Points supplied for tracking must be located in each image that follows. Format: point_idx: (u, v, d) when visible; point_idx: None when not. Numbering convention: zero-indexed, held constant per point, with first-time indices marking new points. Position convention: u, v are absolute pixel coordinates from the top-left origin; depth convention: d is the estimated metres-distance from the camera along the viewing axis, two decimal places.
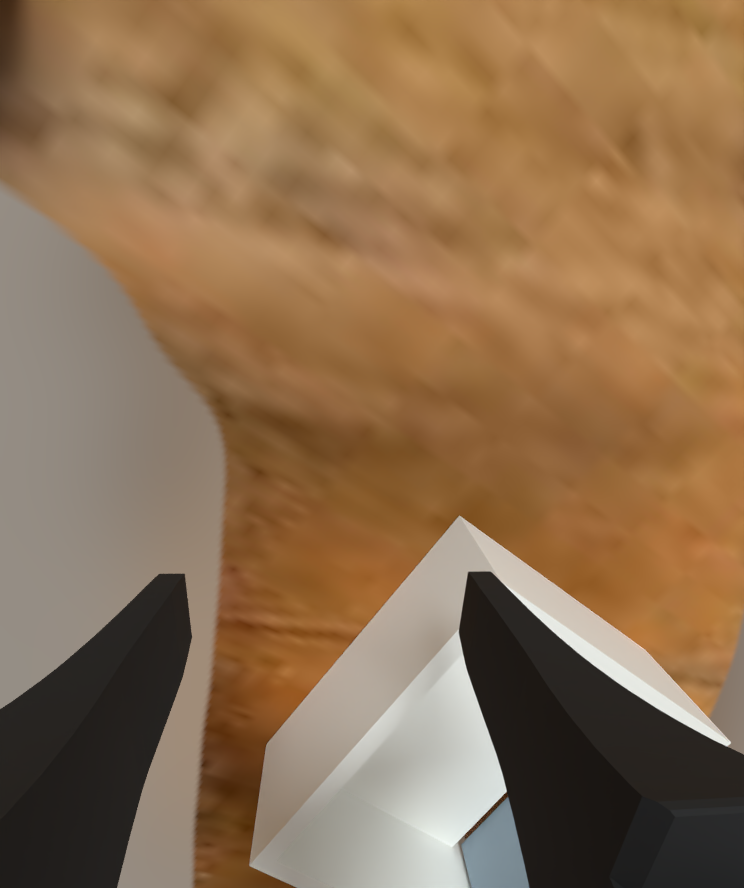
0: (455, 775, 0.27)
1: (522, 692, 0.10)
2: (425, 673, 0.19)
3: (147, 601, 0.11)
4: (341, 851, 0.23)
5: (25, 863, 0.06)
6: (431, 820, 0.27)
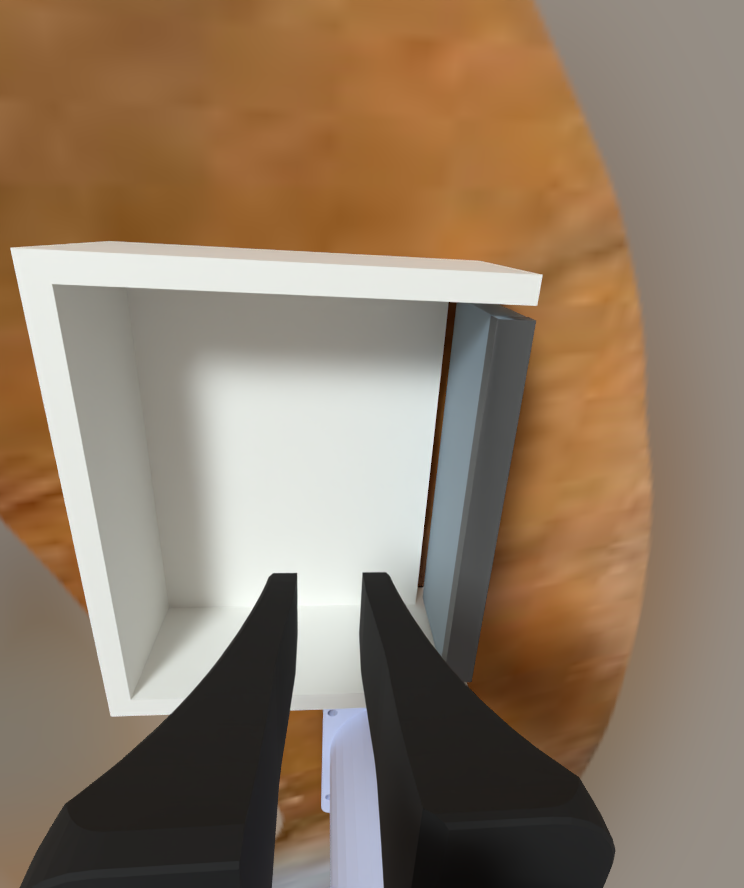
0: (351, 532, 0.22)
1: (383, 696, 0.09)
2: (56, 426, 0.14)
3: (275, 599, 0.11)
4: None
5: (253, 849, 0.06)
6: None
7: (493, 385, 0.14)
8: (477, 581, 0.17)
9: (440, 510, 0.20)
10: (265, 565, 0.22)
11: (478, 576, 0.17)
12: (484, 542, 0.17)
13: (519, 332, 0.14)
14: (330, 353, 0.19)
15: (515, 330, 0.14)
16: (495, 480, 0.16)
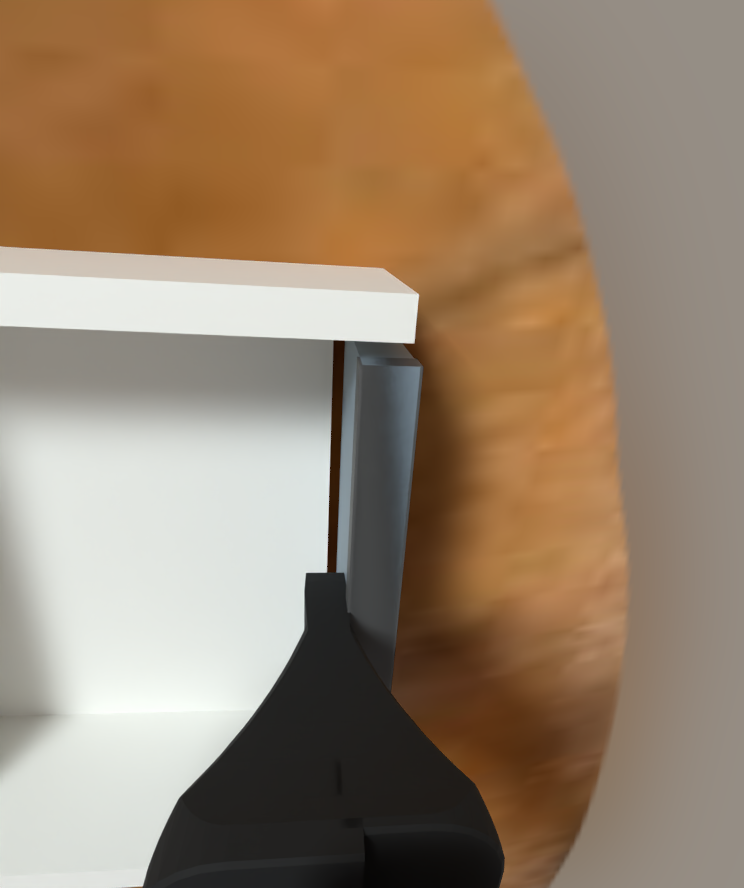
0: (229, 623, 0.16)
1: None
2: None
3: (335, 599, 0.11)
4: (55, 808, 0.15)
5: None
6: (259, 691, 0.18)
7: (364, 464, 0.09)
8: None
9: None
10: (118, 664, 0.17)
11: None
12: None
13: (398, 385, 0.09)
14: (173, 396, 0.13)
15: (391, 382, 0.09)
16: (382, 597, 0.11)
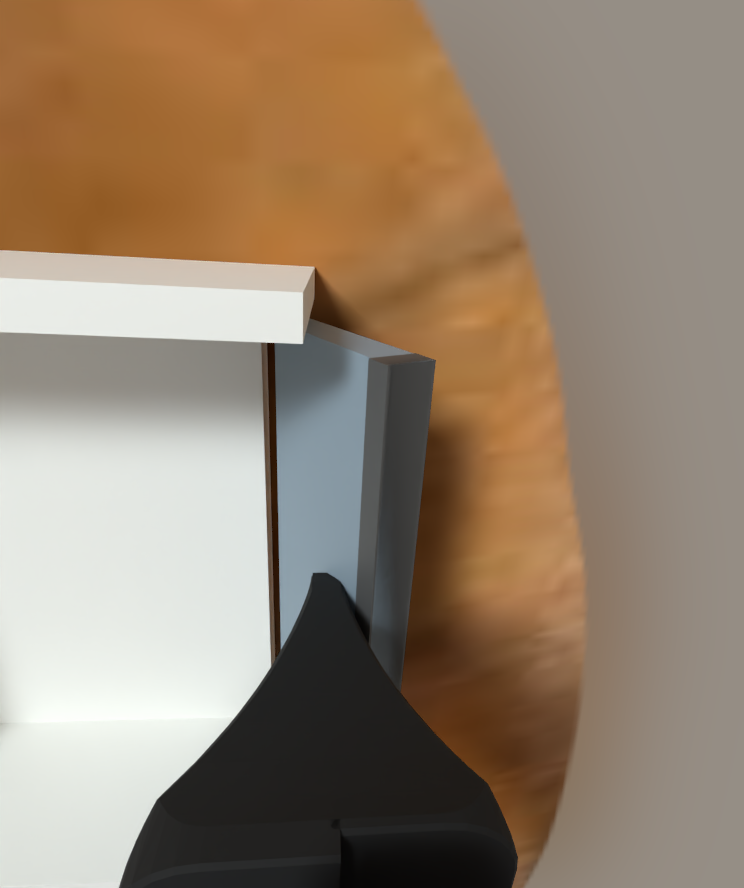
0: (170, 630, 0.16)
1: None
2: None
3: (323, 599, 0.11)
4: None
5: None
6: (206, 700, 0.17)
7: (388, 461, 0.10)
8: None
9: (298, 613, 0.15)
10: (58, 672, 0.16)
11: None
12: (390, 663, 0.12)
13: (416, 380, 0.09)
14: (97, 398, 0.13)
15: (411, 378, 0.09)
16: (398, 583, 0.11)
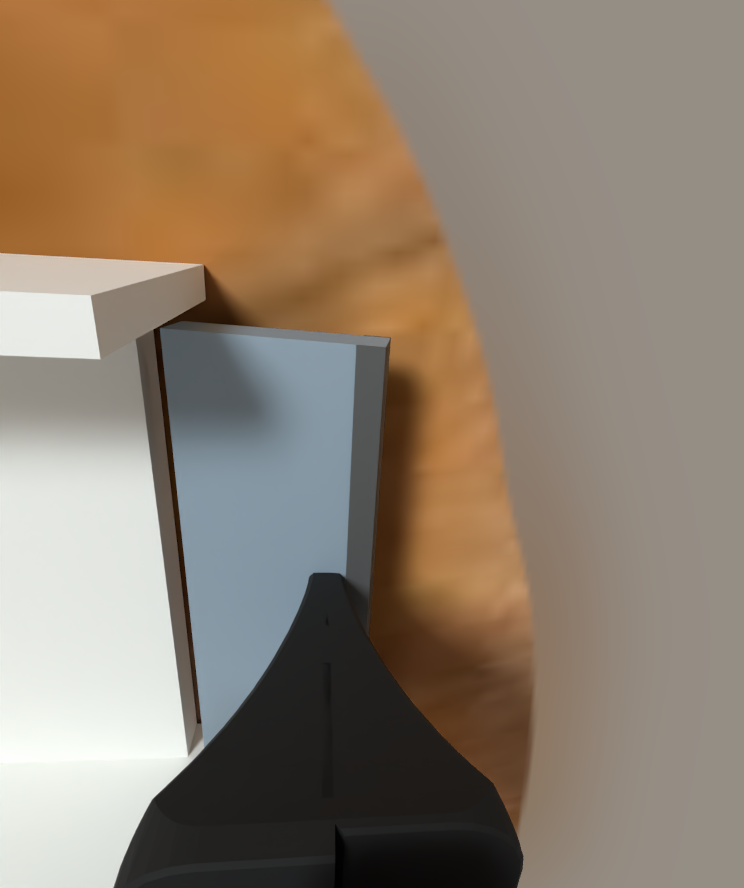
0: (64, 668, 0.15)
1: None
2: None
3: (321, 599, 0.11)
4: None
5: None
6: (112, 740, 0.16)
7: (380, 431, 0.11)
8: None
9: (235, 635, 0.14)
10: None
11: None
12: (369, 609, 0.14)
13: (387, 356, 0.11)
14: None
15: (387, 355, 0.11)
16: (375, 537, 0.13)
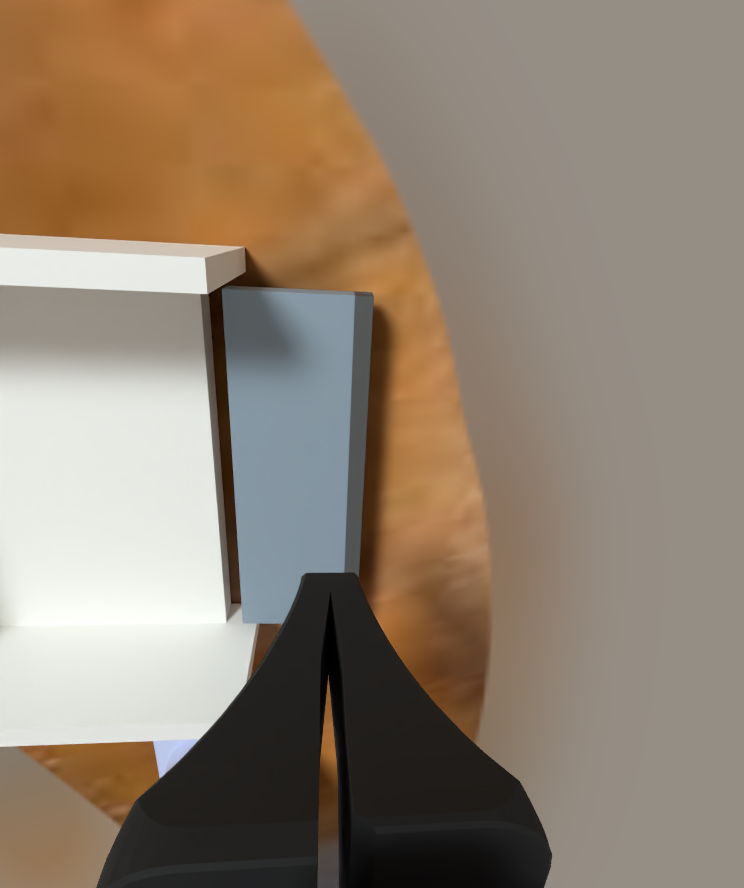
0: (138, 546, 0.20)
1: (341, 698, 0.09)
2: None
3: (312, 599, 0.11)
4: None
5: None
6: (170, 607, 0.21)
7: None
8: None
9: (269, 512, 0.19)
10: (48, 581, 0.20)
11: None
12: None
13: None
14: (74, 350, 0.17)
15: None
16: None
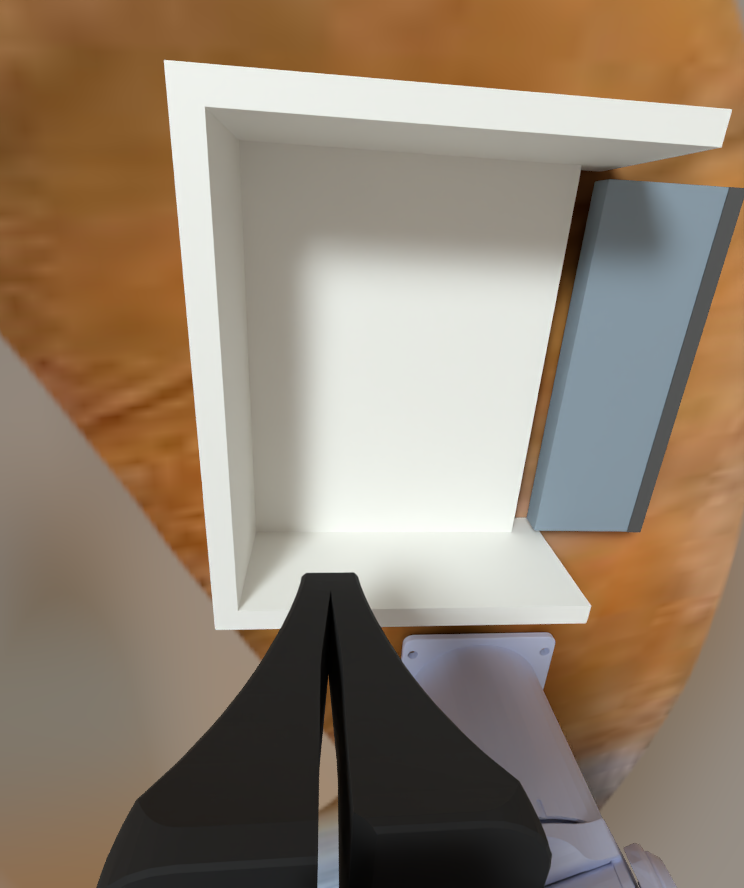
0: (452, 449, 0.21)
1: (341, 698, 0.09)
2: (191, 282, 0.13)
3: (312, 599, 0.11)
4: None
5: None
6: (464, 514, 0.22)
7: None
8: None
9: (590, 413, 0.20)
10: (360, 485, 0.21)
11: None
12: None
13: None
14: (448, 243, 0.17)
15: None
16: None
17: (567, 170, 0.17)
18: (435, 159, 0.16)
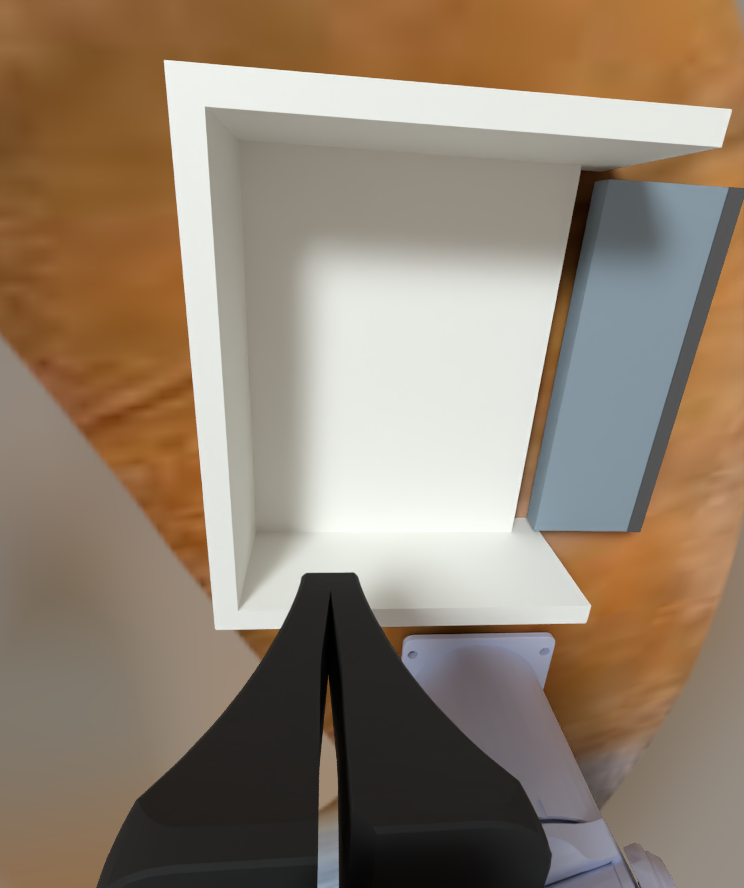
0: (452, 449, 0.21)
1: (341, 698, 0.09)
2: (191, 282, 0.13)
3: (312, 599, 0.11)
4: None
5: None
6: (464, 514, 0.22)
7: None
8: None
9: (590, 413, 0.20)
10: (360, 485, 0.21)
11: None
12: None
13: None
14: (448, 243, 0.17)
15: None
16: None
17: (567, 170, 0.17)
18: (435, 159, 0.16)
